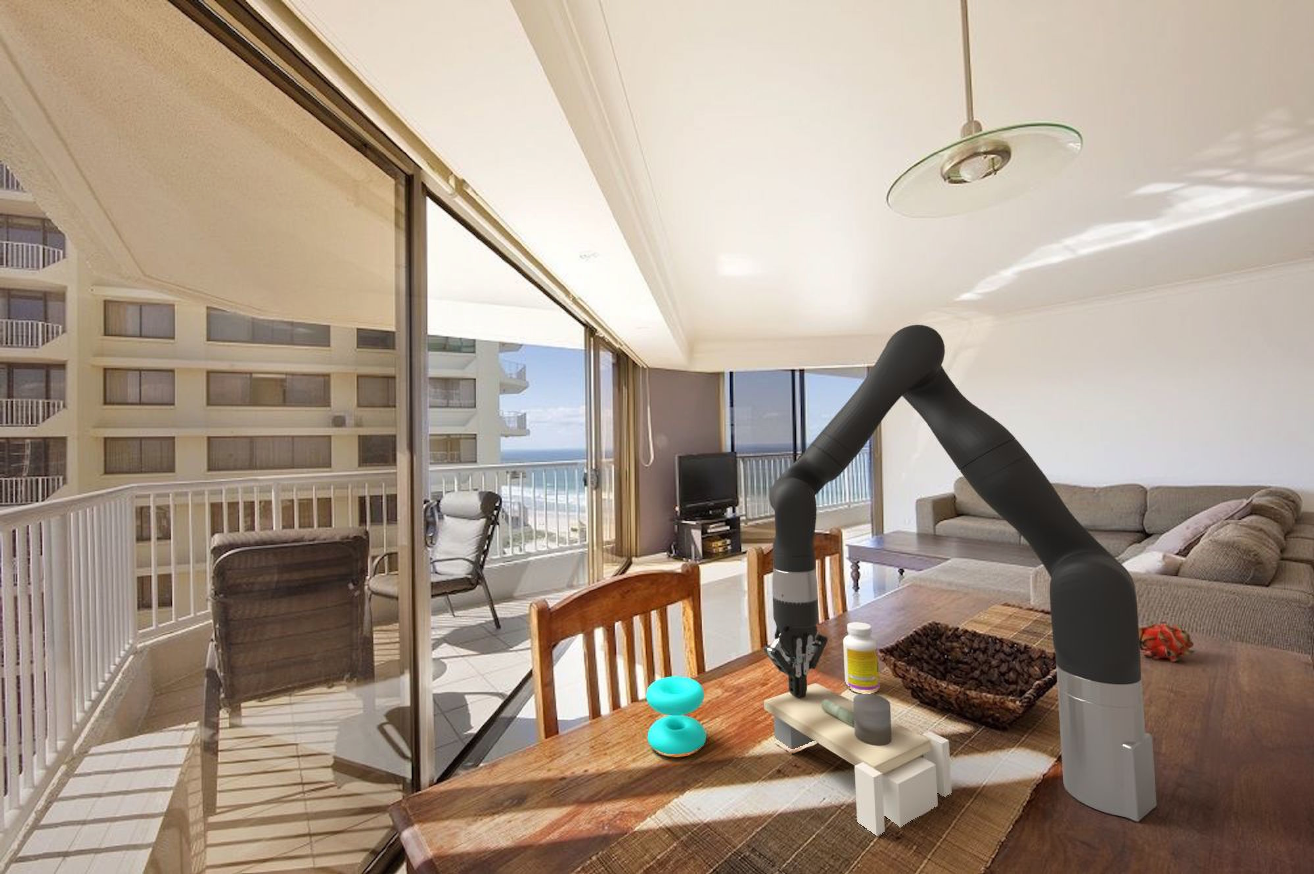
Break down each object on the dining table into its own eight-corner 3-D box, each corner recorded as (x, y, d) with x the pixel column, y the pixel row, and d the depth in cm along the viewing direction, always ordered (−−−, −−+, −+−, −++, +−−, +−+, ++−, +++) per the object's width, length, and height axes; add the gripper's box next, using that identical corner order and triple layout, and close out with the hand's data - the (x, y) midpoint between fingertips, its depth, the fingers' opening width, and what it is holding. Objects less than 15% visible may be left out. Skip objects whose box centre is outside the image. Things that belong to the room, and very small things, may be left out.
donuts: (692, 670, 98) (712, 693, 88) (694, 725, 97) (715, 754, 88) (639, 678, 95) (654, 703, 86) (642, 735, 95) (656, 766, 85)
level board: (930, 750, 76) (928, 704, 76) (874, 777, 70) (872, 728, 71) (815, 691, 95) (814, 654, 96) (764, 709, 90) (762, 670, 90)
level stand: (955, 795, 75) (952, 741, 76) (879, 839, 67) (876, 779, 68) (825, 723, 96) (823, 681, 96) (756, 750, 88) (754, 705, 89)
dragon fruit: (1197, 665, 118) (1146, 676, 118) (1162, 632, 125) (1113, 642, 125) (1215, 642, 113) (1162, 653, 113) (1177, 609, 120) (1127, 620, 120)
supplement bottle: (885, 695, 106) (881, 630, 107) (851, 696, 107) (848, 631, 107) (872, 680, 113) (869, 619, 113) (840, 681, 113) (837, 620, 114)
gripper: (780, 606, 85) (784, 715, 84) (839, 593, 91) (842, 694, 91) (750, 595, 91) (753, 697, 91) (807, 583, 98) (810, 678, 97)
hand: (798, 695), depth 91 cm, fingers closed
